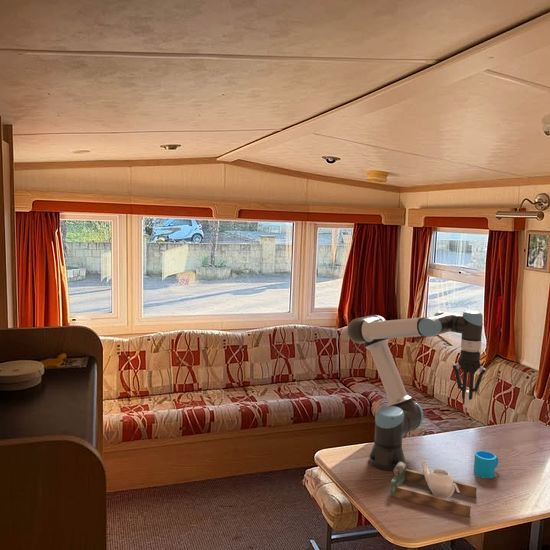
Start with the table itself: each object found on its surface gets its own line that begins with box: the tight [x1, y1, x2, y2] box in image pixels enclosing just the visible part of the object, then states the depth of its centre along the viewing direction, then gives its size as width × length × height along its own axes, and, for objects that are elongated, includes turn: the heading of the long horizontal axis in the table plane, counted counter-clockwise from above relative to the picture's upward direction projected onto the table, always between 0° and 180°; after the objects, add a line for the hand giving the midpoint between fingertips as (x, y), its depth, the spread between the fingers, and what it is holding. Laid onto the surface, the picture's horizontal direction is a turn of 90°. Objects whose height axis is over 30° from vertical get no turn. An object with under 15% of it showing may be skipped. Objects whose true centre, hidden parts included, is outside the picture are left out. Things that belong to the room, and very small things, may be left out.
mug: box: [473, 450, 499, 479], centre depth 223 cm, size 12×8×8 cm
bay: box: [390, 462, 478, 518], centre depth 203 cm, size 29×17×9 cm, turn 62°
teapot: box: [421, 461, 460, 499], centre depth 203 cm, size 10×20×9 cm, turn 26°
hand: (466, 406), depth 217 cm, fingers closed
